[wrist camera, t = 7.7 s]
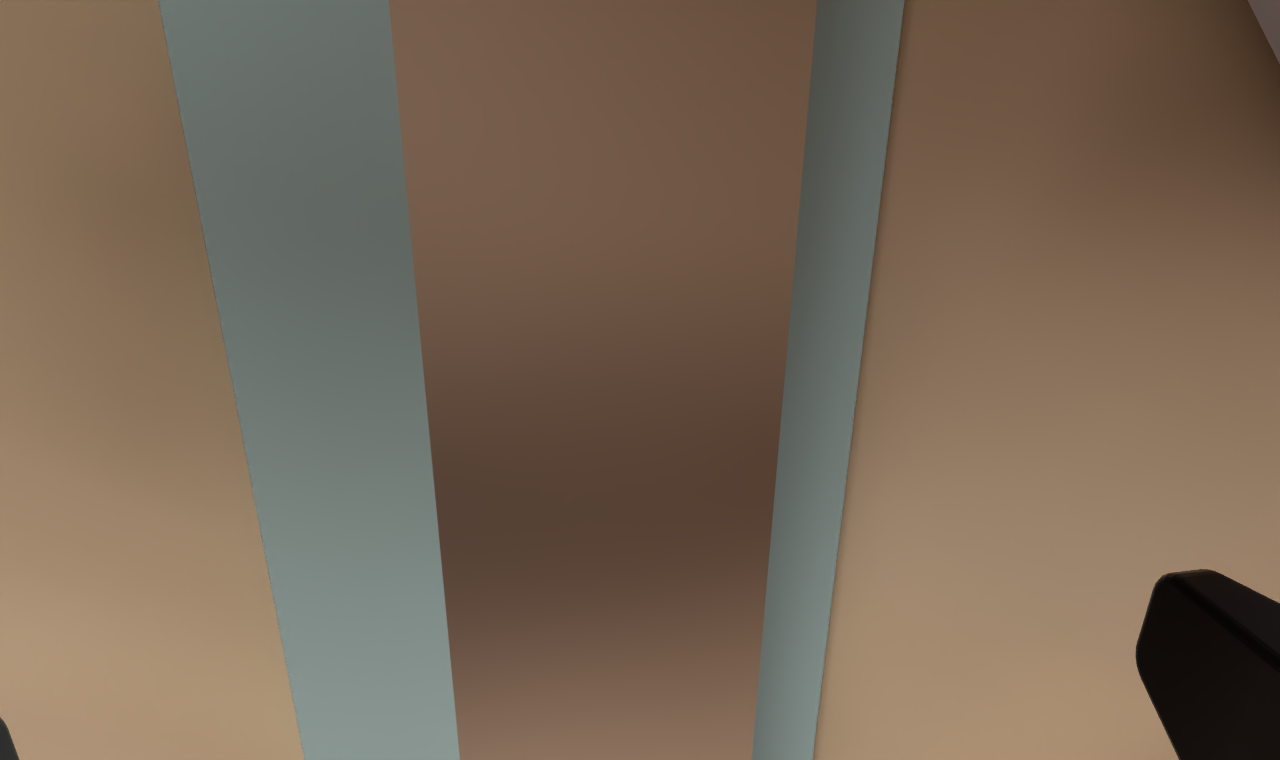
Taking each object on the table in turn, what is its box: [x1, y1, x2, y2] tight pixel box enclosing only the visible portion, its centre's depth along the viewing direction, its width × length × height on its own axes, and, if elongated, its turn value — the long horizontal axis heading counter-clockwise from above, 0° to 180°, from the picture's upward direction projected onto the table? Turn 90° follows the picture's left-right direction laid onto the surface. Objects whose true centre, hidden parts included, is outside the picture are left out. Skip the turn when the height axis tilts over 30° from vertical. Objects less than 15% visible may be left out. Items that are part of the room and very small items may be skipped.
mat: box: [158, 0, 905, 760], centre depth 13 cm, size 17×7×1 cm, turn 179°
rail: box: [389, 0, 817, 760], centre depth 12 cm, size 16×3×3 cm, turn 179°
